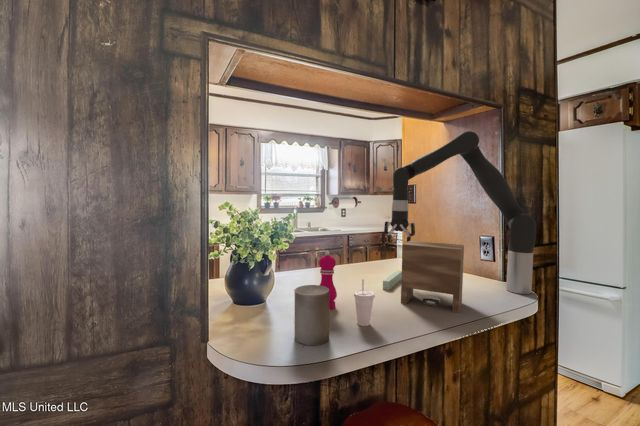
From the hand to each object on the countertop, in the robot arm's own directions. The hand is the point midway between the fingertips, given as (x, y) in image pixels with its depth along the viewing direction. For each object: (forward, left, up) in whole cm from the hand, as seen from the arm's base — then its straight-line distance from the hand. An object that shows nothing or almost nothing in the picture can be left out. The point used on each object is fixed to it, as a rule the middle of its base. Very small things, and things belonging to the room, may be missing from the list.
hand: (398, 243), depth 156 cm
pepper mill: (+52, -12, -17) cm, 56 cm away
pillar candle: (+77, -4, -17) cm, 79 cm away
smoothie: (+60, +5, -17) cm, 63 cm away
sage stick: (+8, 0, -18) cm, 19 cm away
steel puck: (+28, +20, -18) cm, 39 cm away
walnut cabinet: (+28, +20, -17) cm, 38 cm away
